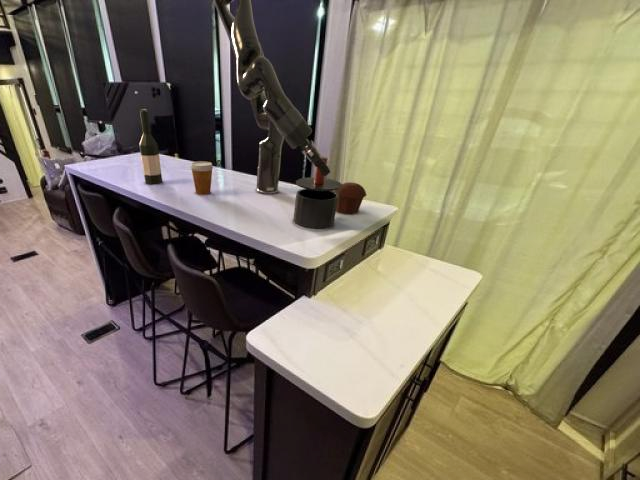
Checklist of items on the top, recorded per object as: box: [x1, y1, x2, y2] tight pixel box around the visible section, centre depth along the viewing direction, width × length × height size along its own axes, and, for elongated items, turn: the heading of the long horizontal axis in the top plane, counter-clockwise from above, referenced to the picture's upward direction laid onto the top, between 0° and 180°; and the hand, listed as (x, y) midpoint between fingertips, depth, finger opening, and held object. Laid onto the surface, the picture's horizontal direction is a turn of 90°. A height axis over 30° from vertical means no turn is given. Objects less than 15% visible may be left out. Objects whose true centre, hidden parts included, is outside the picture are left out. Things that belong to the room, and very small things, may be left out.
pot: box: [292, 188, 339, 230], centre depth 105 cm, size 14×14×10 cm
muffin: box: [333, 181, 367, 215], centre depth 116 cm, size 12×11×10 cm
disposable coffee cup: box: [189, 161, 214, 196], centre depth 132 cm, size 10×10×12 cm
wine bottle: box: [139, 108, 164, 186], centre depth 140 cm, size 8×8×30 cm
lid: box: [295, 156, 343, 192], centre depth 98 cm, size 15×15×9 cm
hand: (327, 172), depth 98 cm, fingers closed on lid, 3 cm apart
